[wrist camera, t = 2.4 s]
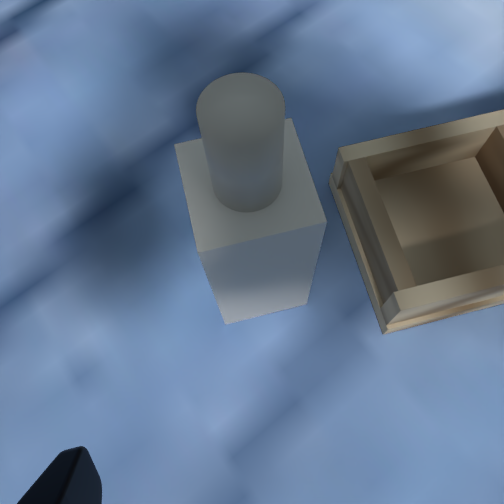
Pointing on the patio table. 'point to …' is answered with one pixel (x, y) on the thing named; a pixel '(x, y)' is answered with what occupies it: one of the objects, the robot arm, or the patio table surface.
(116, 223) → the patio table surface
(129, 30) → the patio table surface
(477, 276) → the tray
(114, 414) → the patio table surface
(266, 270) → the grey plug
